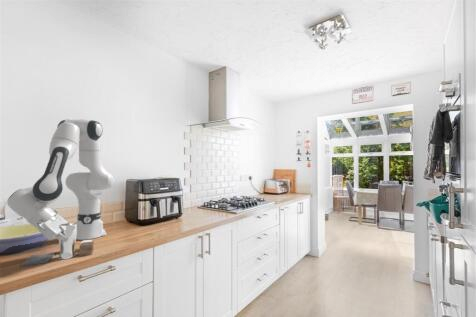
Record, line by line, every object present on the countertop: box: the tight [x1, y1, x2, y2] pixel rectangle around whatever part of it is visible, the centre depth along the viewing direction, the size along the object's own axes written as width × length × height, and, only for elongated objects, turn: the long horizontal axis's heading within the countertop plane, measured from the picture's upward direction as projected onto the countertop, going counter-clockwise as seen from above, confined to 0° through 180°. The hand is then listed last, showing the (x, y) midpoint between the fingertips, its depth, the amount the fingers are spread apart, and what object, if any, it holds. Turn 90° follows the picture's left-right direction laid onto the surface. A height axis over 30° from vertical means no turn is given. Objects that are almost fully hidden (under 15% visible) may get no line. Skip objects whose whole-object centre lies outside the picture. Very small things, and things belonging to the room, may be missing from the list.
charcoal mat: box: [19, 252, 56, 267], centre depth 104 cm, size 12×9×1 cm
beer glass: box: [58, 222, 77, 260], centre depth 108 cm, size 7×7×15 cm
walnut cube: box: [78, 240, 95, 257], centre depth 112 cm, size 5×5×5 cm
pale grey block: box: [79, 239, 93, 245], centre depth 118 cm, size 6×4×4 cm, turn 22°
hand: (69, 238), depth 108 cm, fingers closed on beer glass, 7 cm apart
